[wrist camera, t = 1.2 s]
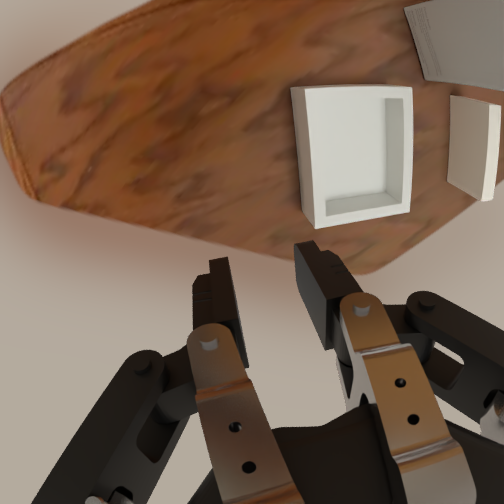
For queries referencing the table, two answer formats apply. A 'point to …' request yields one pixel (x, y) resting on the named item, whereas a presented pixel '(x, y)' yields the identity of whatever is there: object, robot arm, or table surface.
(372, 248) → the table surface
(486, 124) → the wall
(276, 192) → the table surface
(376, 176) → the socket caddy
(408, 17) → the skincare box
